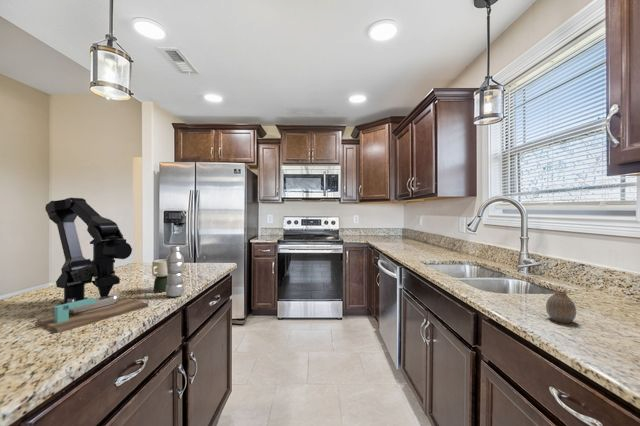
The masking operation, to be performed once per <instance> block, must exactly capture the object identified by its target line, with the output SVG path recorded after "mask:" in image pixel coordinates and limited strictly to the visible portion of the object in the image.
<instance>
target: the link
mask: <svg viewBox="0 0 640 426" xmlns="http://www.w3.org/2000/svg"><path fill="white" fill-rule="evenodd" d="M95 299H96V303H92V304H88V305H84V306H79V307H75V308H71V309H69V314H74V313H78V312H82V311H86V310H90V309H94V308H98V307H102V306H106V305H110V304H114V303H117V302H118V299H119V294H117V293H116V294H110V295H109V294H108V296H104V297H100V296H99V297H96V298H95ZM75 301H76V298H69V299H67V303H71V302H75Z"/></svg>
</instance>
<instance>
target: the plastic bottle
mask: <svg viewBox="0 0 640 426" xmlns="http://www.w3.org/2000/svg"><path fill="white" fill-rule="evenodd" d="M165 259H166V266H167V273H168V274H167V276H168V277H167V286H166V290H165V294H166V295H167V297H173V298H175V297H179V296H182V295H183V294H184V292H185V284H184V277H183V271H184V263H185V258H184V256H183V254H182V253H181V245H170V246H169V253H168V255H167V256H166V257H165Z"/></svg>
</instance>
